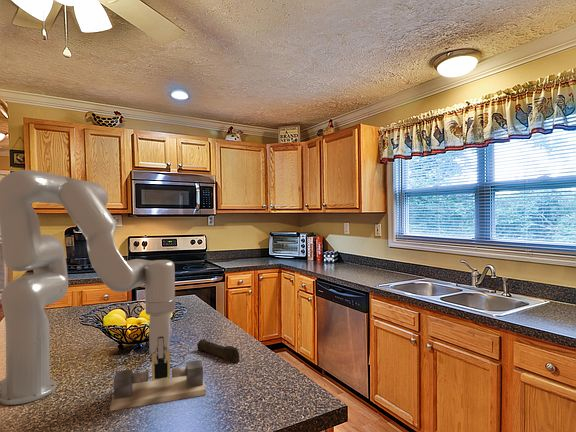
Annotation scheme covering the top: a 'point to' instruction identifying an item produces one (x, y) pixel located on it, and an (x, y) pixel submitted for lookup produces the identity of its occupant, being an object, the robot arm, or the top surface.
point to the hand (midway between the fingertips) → (161, 373)
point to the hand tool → (219, 350)
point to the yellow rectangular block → (166, 361)
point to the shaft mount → (157, 386)
